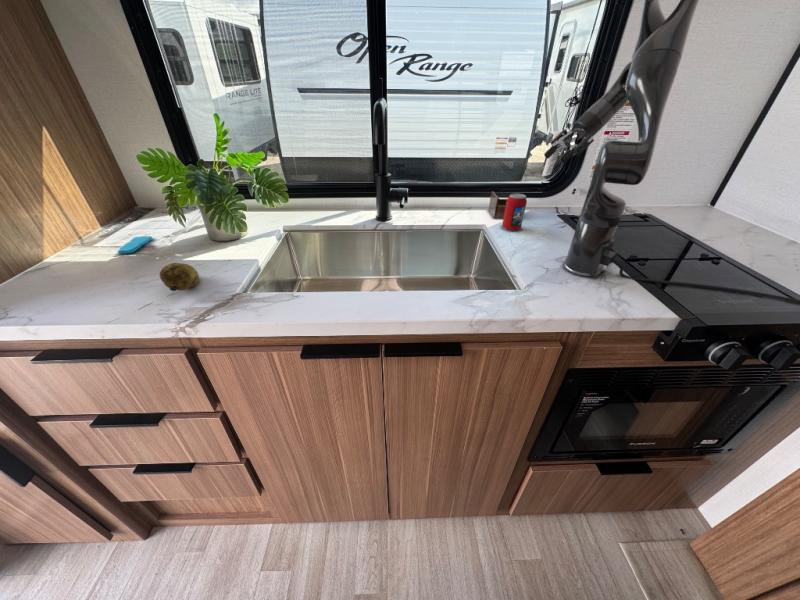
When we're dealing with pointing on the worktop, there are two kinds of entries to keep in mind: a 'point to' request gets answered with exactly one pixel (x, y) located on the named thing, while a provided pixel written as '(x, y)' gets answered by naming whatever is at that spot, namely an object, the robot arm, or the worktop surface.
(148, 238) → the sponge
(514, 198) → the beverage can
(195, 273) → the potato
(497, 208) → the box
